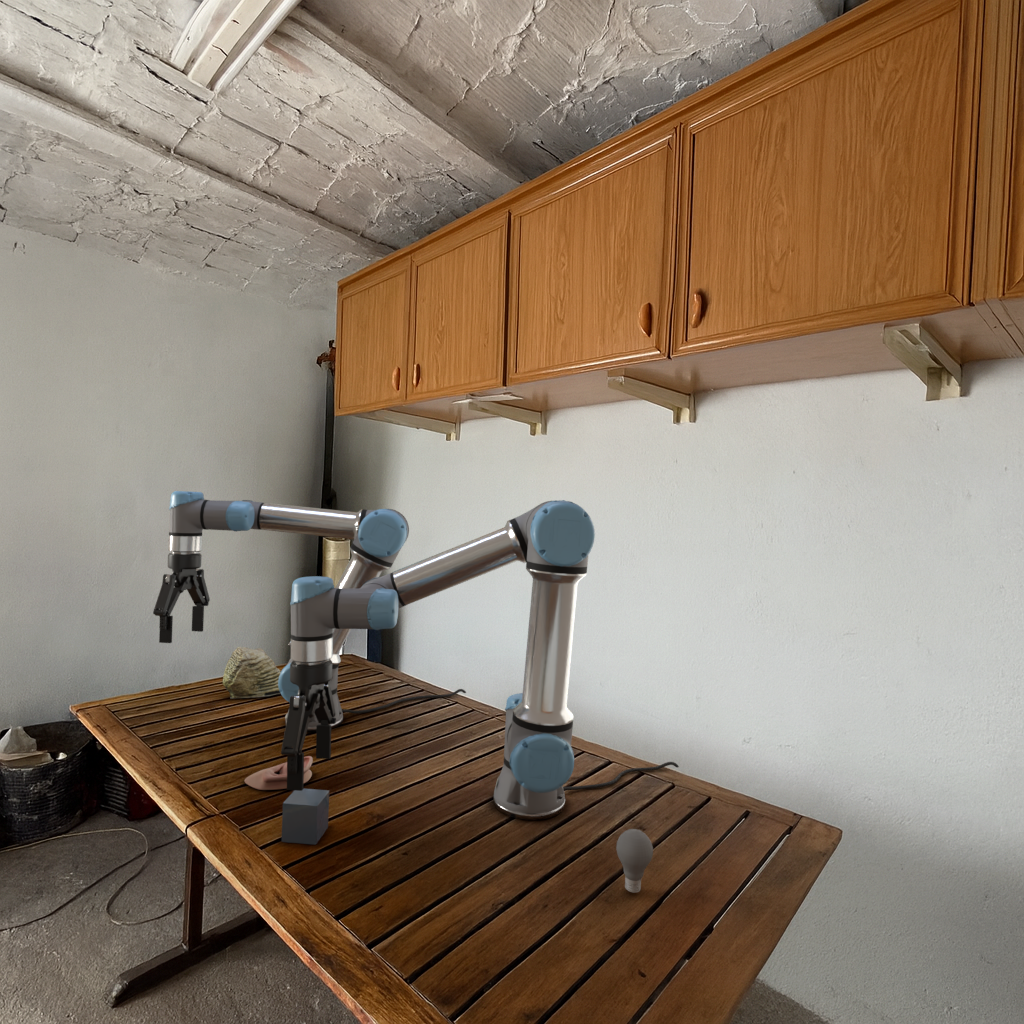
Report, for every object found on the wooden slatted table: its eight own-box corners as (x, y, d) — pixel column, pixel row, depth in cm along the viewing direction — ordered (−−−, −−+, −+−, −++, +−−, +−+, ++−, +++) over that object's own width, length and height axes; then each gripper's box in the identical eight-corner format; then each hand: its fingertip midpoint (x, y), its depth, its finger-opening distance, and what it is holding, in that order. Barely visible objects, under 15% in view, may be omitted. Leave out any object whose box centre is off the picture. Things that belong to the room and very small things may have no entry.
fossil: (218, 695, 195) (220, 647, 195) (278, 685, 208) (279, 640, 207) (228, 703, 189) (230, 653, 188) (289, 692, 201) (290, 645, 201)
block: (295, 824, 122) (296, 787, 122) (328, 827, 122) (329, 790, 122) (281, 842, 116) (282, 802, 116) (315, 844, 115) (317, 805, 115)
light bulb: (610, 879, 108) (613, 822, 108) (644, 879, 109) (647, 822, 109) (619, 902, 102) (622, 840, 102) (655, 901, 103) (658, 840, 103)
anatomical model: (236, 768, 136) (267, 748, 147) (235, 786, 136) (266, 765, 148) (292, 776, 134) (319, 755, 145) (291, 794, 134) (319, 772, 145)
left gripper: (198, 548, 172) (195, 626, 172) (138, 555, 147) (135, 647, 147) (225, 549, 171) (222, 627, 172) (169, 557, 146) (165, 648, 147)
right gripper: (317, 644, 131) (315, 746, 131) (260, 678, 106) (259, 803, 106) (352, 645, 130) (351, 747, 131) (304, 679, 105) (303, 805, 106)
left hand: (182, 636), depth 159 cm, fingers open, 13 cm apart
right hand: (310, 773), depth 119 cm, fingers open, 13 cm apart
